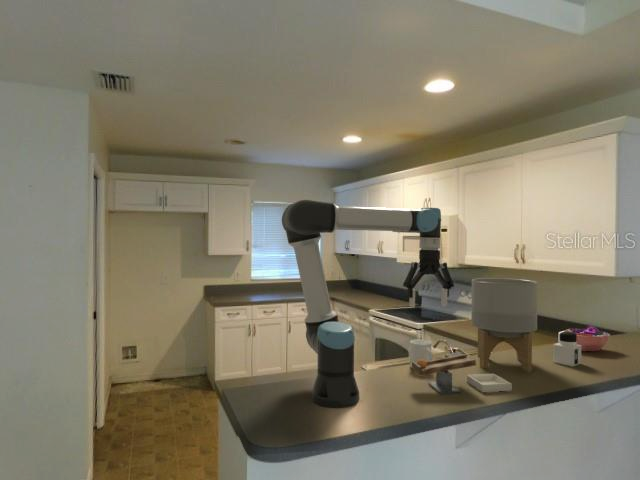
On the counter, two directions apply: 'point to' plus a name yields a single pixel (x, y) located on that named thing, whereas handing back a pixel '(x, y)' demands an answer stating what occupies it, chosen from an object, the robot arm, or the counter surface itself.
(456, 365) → the plank
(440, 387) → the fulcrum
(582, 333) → the cell model
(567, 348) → the container
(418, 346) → the mug
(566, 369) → the counter surface
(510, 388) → the dish
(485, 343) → the planter
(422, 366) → the ball
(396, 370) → the counter surface
